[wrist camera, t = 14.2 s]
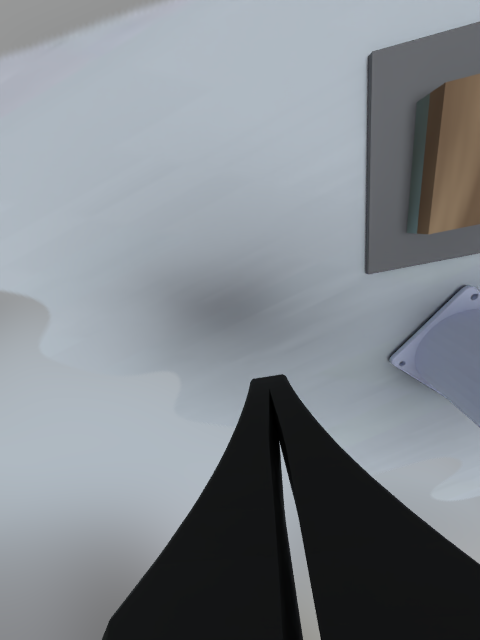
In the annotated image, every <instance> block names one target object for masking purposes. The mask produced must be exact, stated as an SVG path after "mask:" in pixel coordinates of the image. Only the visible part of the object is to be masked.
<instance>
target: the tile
mask: <svg viewBox="0 0 480 640" xmlns="http://www.w3.org/2000/svg"><path fill="white" fill-rule="evenodd" d="M478 224H480V74H476V75H472V76H468V77H464V78H461V79H457V80H453V81H449V82H445V83H444V84H443V85H441V86H440V87H438V88H437V89H435V90H434V91H432V92H431V93H429V94H428V95H427V96H425V97H424V98H422V99H421V100H419V101H418V102H417V107H416V120H415V133H414V145H413V158H412V171H411V184H410V197H409V209H408V222H407V233H416V234H433V233H438V232H443V231H448V230H453V229H458V228H463V227H468V226H473V225H478Z"/></svg>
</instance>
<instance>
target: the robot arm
mask: <svg viewBox="0 0 480 640" xmlns="http://www.w3.org/2000/svg"><path fill="white" fill-rule="evenodd" d="M472 295H473V296H472ZM471 296H472V297H471ZM401 361H402V363H400V362H401ZM390 362H391V363H392V364H393V365H394V366H396V367H397V368H399V369H401V370H402V371H404V372H405V373H407V374H409V375H410V376H412V377H414V378H415V379H417V380H418V381H420V382H422V383H423V384H425V385H427V386H428V387H430V388H431V389H433V390H435V391H436V392H438V393H440V394H441V395H443V396H444V397H446V398H447V399H448V400H449V401H450V402H451V403H453V404H454V405H455V406H456V407H457V408H458V409H459V410H461V411H462V412H463V413H464V414H465V415H466V416H467V417H468V418H470V419H471V420H472V421H473V422H474V423H475V424H476V425H478V426H479V427H480V291H479V290H478V289H476V288H475V287H472V286H465V287H463V288H462V289H461V290H460V291H459V292H458V293H457V294H456V295H455V296H454V297H452V298H451V299H450V300H449V301H448V302H447V303H446V304H445V305H444V306H443V307H442V308H441V309H440V310H439V311H438V312H437V313H436V314H435V315H434V316H433V317H432V318H431V319H430V320H429V321H428V322H426V323H425V324H424V325H423V326H422V327H421V328H420V329H419V330H418V331H417V332H416V333H415V334H414V335H413V336H412V337H411V338H410V339H409V340H408V341H407V342H406V343H405V344H404V345H403V346H402V347H400V348H399V349H398V350H397V351H396V352H395V353H394V354H393V355H392V356H391V357H390ZM399 363H400V364H399ZM279 441H280V444H279ZM280 445H281V449H282V453H283V457H284V461H285V465H286V468H287V473H288V476H289V480H290V484H291V488H292V492H293V496H294V500H295V504H296V508H297V512H298V517H299V522H300V527H301V533H302V538H303V543H304V549H305V555H306V560H307V565H308V571H309V577H310V582H311V588H312V593H313V599H314V603H315V609H316V614H317V620H318V626H319V631H320V637H321V640H480V564H479V563H477V562H476V561H475V560H473V559H472V558H471V557H469V556H468V555H467V554H466V553H464V552H463V551H461V550H460V549H459V548H457V547H456V546H455V545H454V544H452V543H451V542H450V541H448V540H447V539H446V538H445V537H443V536H442V535H441V534H440V533H438V532H437V531H436V530H435V529H433V528H432V527H431V526H430V525H428V524H427V523H426V522H425V521H423V520H422V519H421V518H420V517H418V516H417V515H416V514H415V513H413V512H412V511H411V510H410V509H408V508H407V507H406V506H405V505H404V504H403V503H402V502H400V501H399V500H398V499H397V498H395V496H393V495H392V494H391V493H390V492H389V491H388V490H386V489H385V488H384V487H383V486H382V485H381V484H379V483H378V482H377V481H376V480H375V479H374V478H372V477H371V476H370V475H369V474H368V473H367V472H366V471H365V470H364V469H363V468H362V467H361V466H360V465H359V464H357V463H356V462H355V461H354V460H353V459H352V458H351V457H350V456H349V455H348V454H347V453H346V452H345V451H344V450H343V449H342V448H341V447H340V446H339V445H338V444H337V443H336V442H335V441H334V440H333V438H332V437H331V436H330V435H329V434H328V433H327V432H326V431H325V430H324V428H323V427H322V426H321V425H320V424H319V423H318V422H317V420H316V419H315V418H314V417H313V416H312V414H311V413H310V412H309V410H308V409H307V408H306V407H305V405H304V404H303V403H302V401H301V400H300V399H299V397H298V396H297V394H296V393H295V391H294V390H293V388H292V387H291V385H290V383H289V381H288V380H287V377H286V376H285V375H283V374H282V375H276V376H269V377H263V378H256V379H252V381H251V382H250V387H249V392H248V395H247V399H246V402H245V405H244V408H243V410H242V413H241V416H240V418H239V421H238V424H237V426H236V428H235V431H234V433H233V435H232V437H231V440H230V442H229V444H228V446H227V448H226V450H225V452H224V454H223V456H222V458H221V460H220V462H219V464H218V466H217V468H216V470H215V471H214V473H213V475H212V477H211V479H210V480H209V482H208V483H207V485H206V487H205V489H204V490H203V492H202V493H201V495H200V497H199V499H198V500H197V501H196V503H195V505H194V506H193V508H192V509H191V511H190V512H189V514H188V515H187V517H186V518H185V520H184V521H183V522H182V524H181V525H180V527H179V528H178V530H177V531H176V533H175V534H174V536H173V537H172V538H171V540H170V541H169V543H168V545H167V546H166V547H165V549H164V550H163V551H162V553H161V554H160V555H159V557H158V558H157V559H156V561H155V562H154V564H153V565H152V566H151V567H150V569H149V570H148V571H147V572H146V574H145V575H144V576H143V578H142V579H141V580H140V582H139V583H138V584H137V585H136V587H135V588H134V589H133V591H132V592H131V593H130V594H129V596H128V597H127V598H126V600H125V601H124V602H123V603H122V605H121V606H120V607H119V609H118V610H117V611H116V613H115V614H114V615H113V616H112V618H111V619H110V621H109V623H108V626H107V628H106V631H105V633H104V636H103V638H102V640H303V636H302V629H301V623H300V616H299V609H298V603H297V596H296V589H295V582H294V575H293V569H292V562H291V556H290V548H289V542H288V534H287V527H286V520H285V510H284V499H283V485H282V471H281V457H280Z"/></svg>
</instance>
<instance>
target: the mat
mask: <svg viewBox="0 0 480 640" xmlns="http://www.w3.org/2000/svg"><path fill="white" fill-rule="evenodd" d="M476 74H480V22H477V23H473V24H470V25H466V26H462V27H459V28H455V29H452V30H448V31H445V32H441V33H437V34H434V35H430V36H427V37H423V38H419V39H416V40H412V41H409V42H405V43H402V44H398V45H394V46H391V47H387V48H384V49H380V50H376V51H373V52H372V53H371V54H370V55H369V62H368V139H367V216H366V273H367V274H372V273H378V272H383V271H388V270H393V269H399V268H404V267H409V266H414V265H420V264H425V263H430V262H435V261H441V260H446V259H451V258H457V257H462V256H467V255H472V254H478V253H480V224H478V225H473V226H468V227H463V228H458V229H453V230H448V231H443V232H438V233H433V234H416V233H407V222H408V209H409V197H410V184H411V171H412V158H413V145H414V133H415V120H416V107H417V102H418V101H419V100H421V99H422V98H424V97H425V96H427V95H428V94H429V93H431V92H432V91H434V90H435V89H437V88H438V87H440V86H441V85H443V84H444V83H445V82H449V81H453V80H457V79H461V78H464V77H468V76H472V75H476Z"/></svg>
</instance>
